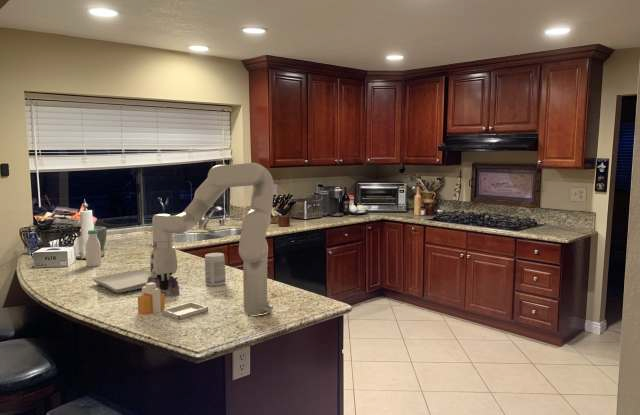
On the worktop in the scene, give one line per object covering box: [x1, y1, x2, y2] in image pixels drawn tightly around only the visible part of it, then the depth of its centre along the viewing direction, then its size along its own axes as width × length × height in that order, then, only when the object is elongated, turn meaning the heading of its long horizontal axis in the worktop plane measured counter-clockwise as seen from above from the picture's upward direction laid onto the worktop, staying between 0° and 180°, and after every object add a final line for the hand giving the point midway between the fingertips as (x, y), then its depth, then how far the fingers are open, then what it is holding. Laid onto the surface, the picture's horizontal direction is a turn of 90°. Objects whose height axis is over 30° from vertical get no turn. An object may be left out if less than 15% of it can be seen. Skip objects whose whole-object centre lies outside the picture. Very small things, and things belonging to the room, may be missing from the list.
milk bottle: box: [85, 229, 102, 268], centre depth 275 cm, size 8×8×20 cm
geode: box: [146, 275, 180, 298], centre depth 221 cm, size 20×12×10 cm, turn 47°
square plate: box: [91, 269, 151, 294], centre depth 237 cm, size 27×27×4 cm
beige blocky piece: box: [141, 282, 162, 315], centre depth 194 cm, size 8×3×11 cm, turn 51°
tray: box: [161, 301, 209, 321], centre depth 192 cm, size 11×14×2 cm
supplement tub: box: [204, 252, 226, 287], centre depth 238 cm, size 10×10×15 cm
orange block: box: [137, 292, 166, 316], centre depth 194 cm, size 4×9×6 cm, turn 141°
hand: (164, 289), depth 198 cm, fingers closed
